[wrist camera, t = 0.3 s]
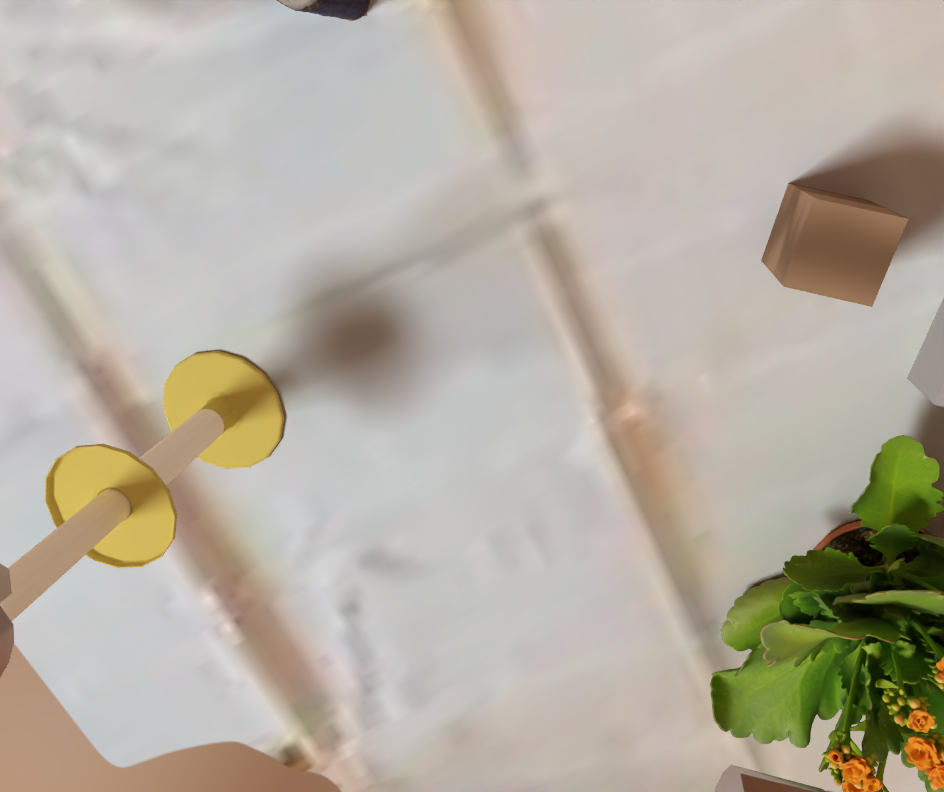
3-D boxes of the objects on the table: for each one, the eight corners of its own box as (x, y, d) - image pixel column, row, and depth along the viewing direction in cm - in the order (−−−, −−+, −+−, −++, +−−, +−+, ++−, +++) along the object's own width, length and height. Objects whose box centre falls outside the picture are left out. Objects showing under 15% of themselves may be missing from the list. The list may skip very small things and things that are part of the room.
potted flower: (733, 399, 54) (785, 532, 38) (1110, 417, 51) (1342, 571, 35) (699, 683, 64) (730, 885, 48) (1016, 714, 60) (1164, 944, 44)
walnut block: (788, 183, 49) (815, 198, 42) (868, 200, 48) (908, 218, 42) (761, 260, 51) (783, 286, 44) (838, 278, 50) (872, 306, 44)
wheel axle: (183, 328, 59) (-245, 577, 29) (302, 386, 59) (-5, 692, 30) (150, 433, 63) (-257, 745, 33) (261, 487, 63) (-44, 846, 34)
